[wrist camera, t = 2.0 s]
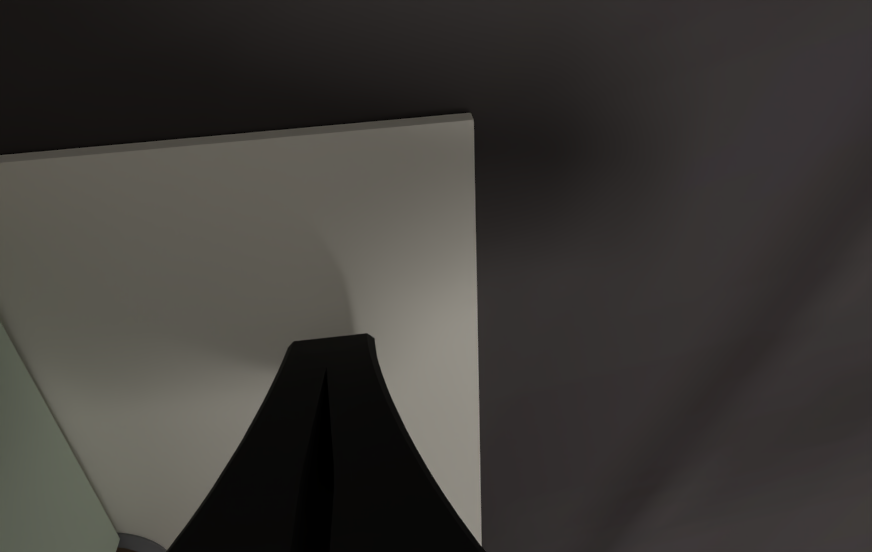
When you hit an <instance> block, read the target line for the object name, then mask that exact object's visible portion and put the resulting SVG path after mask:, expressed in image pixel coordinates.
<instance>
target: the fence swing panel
mask: <svg viewBox="0 0 872 552" xmlns="http://www.w3.org/2000/svg"><path fill="white" fill-rule="evenodd" d="M119 541H120V538H119V536H118V534H117V532H116V530H115V529H114V527H113V525H112V523H111V521H110V520H109V518H108V516H107V514H106V512H105V511H104V509H103V507H102V505H101V503H100V501H99V500H98V498H97V496H96V494H95V492H94V491H93V489H92V487H91V485H90V483H89V482H88V480H87V478H86V476H85V474H84V472H83V471H82V469H81V467H80V465H79V463H78V462H77V460H76V458H75V456H74V454H73V453H72V451H71V449H70V447H69V445H68V443H67V442H66V440H65V438H64V436H63V434H62V433H61V431H60V429H59V427H58V425H57V424H56V422H55V420H54V418H53V416H52V414H51V413H50V411H49V409H48V407H47V405H46V404H45V402H44V400H43V398H42V396H41V394H40V393H39V391H38V389H37V387H36V385H35V384H34V382H33V380H32V378H31V376H30V375H29V373H28V371H27V369H26V367H25V365H24V364H23V362H22V360H21V358H20V356H19V355H18V353H17V351H16V349H15V347H14V346H13V344H12V342H11V340H10V338H9V336H8V335H7V333H6V331H5V329H4V327H3V326H2V324H1V322H0V552H116V550H117V547H118V544H119Z"/></svg>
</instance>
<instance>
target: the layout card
mask: <svg viewBox="0 0 872 552" xmlns="http://www.w3.org/2000/svg"><path fill="white" fill-rule="evenodd" d="M0 322H1V324H2V326H3V327H4V329H5V331H6V333H7V335H8V336H9V338H10V340H11V342H12V344H13V346H14V347H15V349H16V351H17V353H18V355H19V356H20V358H21V360H22V362H23V364H24V365H25V367H26V369H27V371H28V373H29V375H30V376H31V378H32V380H33V382H34V384H35V385H36V387H37V389H38V391H39V393H40V394H41V396H42V398H43V400H44V402H45V404H46V405H47V407H48V409H49V411H50V413H51V414H52V416H53V418H54V420H55V422H56V424H57V425H58V427H59V429H60V431H61V433H62V434H63V436H64V438H65V440H66V442H67V443H68V445H69V447H70V449H71V451H72V453H73V454H74V456H75V458H76V460H77V462H78V463H79V465H80V467H81V469H82V471H83V472H84V474H85V476H86V478H87V480H88V482H89V483H90V485H91V487H92V489H93V491H94V492H95V494H96V496H97V498H98V500H99V501H100V503H101V505H102V507H103V509H104V511H105V512H106V514H107V516H108V518H109V520H110V521H111V523H112V525H113V527H114V529H115V530H116V532H117V534H118V536H119V538H120V541H119V544H118V547H119V548H126V549H130V550H134V551H137V552H166V551H167V550H168V548H169V547H170V546H171V544H172V543H173V542H174V540H175V539H176V538H177V536H178V535H179V534H180V532H181V531H182V530H183V528H184V527H185V526H186V524H187V523H188V522H189V520H190V519H191V518H192V516H193V515H194V513H195V512H196V511H197V509H198V508H199V506H200V505H201V503H202V502H203V500H204V499H205V498H206V496H207V495H208V493H209V492H210V490H211V489H212V487H213V486H214V484H215V482H216V481H217V479H218V478H219V476H220V474H221V473H222V471H223V470H224V468H225V467H226V465H227V463H228V462H229V460H230V459H231V457H232V455H233V454H234V452H235V451H236V449H237V447H238V446H239V444H240V442H241V441H242V439H243V437H244V435H245V433H246V432H247V430H248V428H249V426H250V424H251V423H252V421H253V419H254V417H255V415H256V414H257V412H258V410H259V408H260V406H261V404H262V403H263V401H264V399H265V397H266V395H267V393H268V391H269V389H270V387H271V385H272V383H273V380H274V378H275V376H276V374H277V372H278V370H279V367H280V365H281V363H282V361H283V358H284V356H285V353H286V351H287V348H288V347H289V346H290V345H291V344H292V342H293V341H300V340H309V339H318V338H328V337H337V336H346V335H355V334H364V333H368V334H369V335H371V336H372V337H374V338H375V345H376V353H377V358H378V362H379V365H380V368H381V372H382V375H383V377H384V380H385V383H386V385H387V388H388V391H389V393H390V395H391V398H392V400H393V402H394V404H395V407H396V409H397V411H398V413H399V415H400V417H401V419H402V421H403V423H404V425H405V428H406V430H407V431H408V433H409V435H410V437H411V439H412V441H413V443H414V445H415V447H416V448H417V450H418V452H419V454H420V455H421V457H422V459H423V461H424V462H425V464H426V466H427V467H428V469H429V471H430V472H431V474H432V476H433V477H434V479H435V481H436V482H437V484H438V485H439V487H440V488H441V490H442V492H443V493H444V495H445V496H446V498H447V499H448V501H449V502H450V503H451V505H452V506H453V508H454V509H455V511H456V512H457V514H458V515H459V517H460V518H461V519H462V521H463V522H464V523H465V525H466V526H467V528H468V529H469V530H470V532H471V533H472V535H473V536H474V537H475V539H476V540H477V541H478V543H479V544H480V545H481V546H482V538H481V483H480V429H479V375H478V321H477V267H476V213H475V159H474V119H473V117H472V114H471V113H461V114H450V115H439V116H428V117H417V118H406V119H395V120H384V121H373V122H362V123H351V124H339V125H328V126H317V127H306V128H295V129H284V130H273V131H262V132H251V133H240V134H229V135H218V136H207V137H196V138H184V139H173V140H162V141H151V142H140V143H129V144H118V145H107V146H96V147H85V148H74V149H63V150H52V151H40V152H29V153H18V154H7V155H0Z"/></svg>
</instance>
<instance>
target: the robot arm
mask: <svg viewBox="0 0 872 552" xmlns="http://www.w3.org/2000/svg"><path fill="white" fill-rule="evenodd" d="M166 552H486V551H485V550H484V549H483V548H482V546H481V545H480V544H479V543H478V541H477V540H476V539H475V537H474V536H473V535H472V533H471V532H470V530H469V529H468V528H467V526H466V525H465V523H464V522H463V521H462V519H461V518H460V517H459V515H458V514H457V512H456V511H455V509H454V508H453V506H452V505H451V503H450V502H449V501H448V499H447V498H446V496H445V495H444V493H443V492H442V490H441V488H440V487H439V485H438V484H437V482H436V481H435V479H434V477H433V476H432V474H431V472H430V471H429V469H428V467H427V466H426V464H425V462H424V461H423V459H422V457H421V455H420V454H419V452H418V450H417V448H416V447H415V445H414V443H413V441H412V439H411V437H410V435H409V433H408V431H407V430H406V428H405V425H404V423H403V421H402V419H401V417H400V415H399V413H398V411H397V409H396V407H395V404H394V402H393V400H392V398H391V395H390V393H389V391H388V388H387V385H386V383H385V380H384V377H383V375H382V372H381V368H380V365H379V362H378V358H377V353H376V345H375V338H374V337H372V336H371V335H369V334H368V333H364V334H355V335H346V336H337V337H328V338H318V339H309V340H300V341H293V342H292V344H291V345H290V346H289V347H288V348H287V351H286V353H285V356H284V358H283V361H282V363H281V365H280V367H279V370H278V372H277V374H276V376H275V378H274V380H273V383H272V385H271V387H270V389H269V391H268V393H267V395H266V397H265V399H264V401H263V403H262V404H261V406H260V408H259V410H258V412H257V414H256V415H255V417H254V419H253V421H252V423H251V424H250V426H249V428H248V430H247V432H246V433H245V435H244V437H243V439H242V441H241V442H240V444H239V446H238V447H237V449H236V451H235V452H234V454H233V455H232V457H231V459H230V460H229V462H228V463H227V465H226V467H225V468H224V470H223V471H222V473H221V474H220V476H219V478H218V479H217V481H216V482H215V484H214V486H213V487H212V489H211V490H210V492H209V493H208V495H207V496H206V498H205V499H204V500H203V502H202V503H201V505H200V506H199V508H198V509H197V511H196V512H195V513H194V515H193V516H192V518H191V519H190V520H189V522H188V523H187V524H186V526H185V527H184V528H183V530H182V531H181V532H180V534H179V535H178V536H177V538H176V539H175V540H174V542H173V543H172V544H171V546H170V547H169V548H168V550H167V551H166Z"/></svg>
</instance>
